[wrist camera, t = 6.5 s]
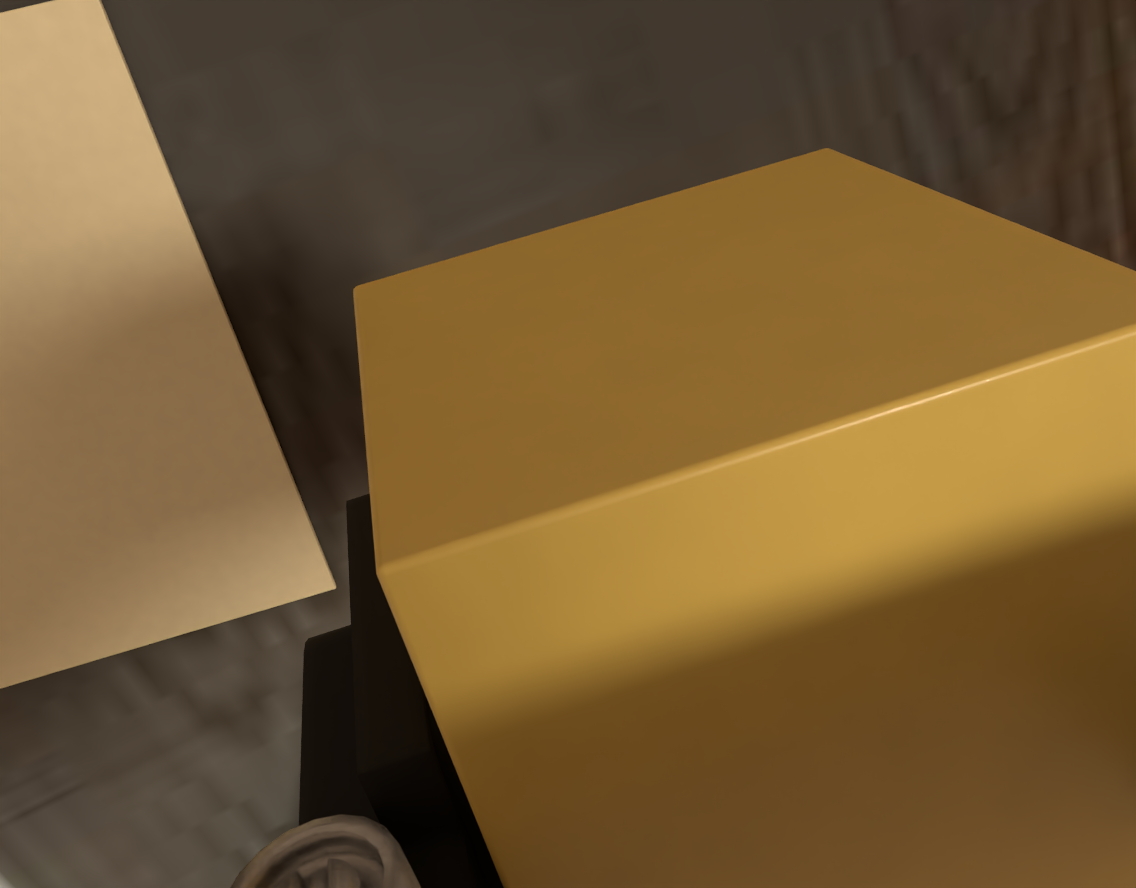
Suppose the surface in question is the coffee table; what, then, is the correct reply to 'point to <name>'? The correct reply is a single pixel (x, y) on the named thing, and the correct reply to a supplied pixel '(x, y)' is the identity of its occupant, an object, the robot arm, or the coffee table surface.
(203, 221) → the coffee table surface
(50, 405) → the corner mat
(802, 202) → the cheese
